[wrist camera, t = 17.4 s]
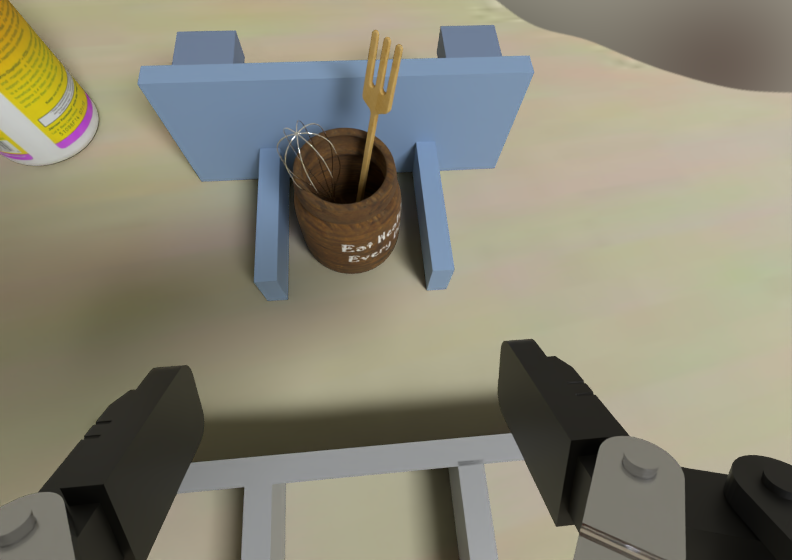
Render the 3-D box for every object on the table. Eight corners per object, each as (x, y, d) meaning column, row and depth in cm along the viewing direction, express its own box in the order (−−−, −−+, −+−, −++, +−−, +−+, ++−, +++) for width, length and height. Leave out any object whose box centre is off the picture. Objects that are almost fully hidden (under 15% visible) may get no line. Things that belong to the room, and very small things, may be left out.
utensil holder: (286, 240, 26) (218, 89, 15) (351, 177, 28) (333, 3, 17) (357, 296, 25) (339, 176, 14) (419, 226, 27) (448, 72, 16)
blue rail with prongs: (518, 284, 26) (575, 218, 18) (188, 306, 24) (106, 244, 17) (485, 127, 30) (520, 24, 23) (206, 138, 29) (147, 32, 22)
